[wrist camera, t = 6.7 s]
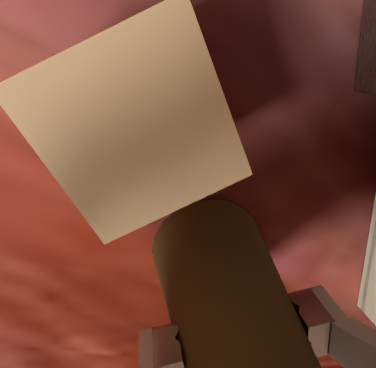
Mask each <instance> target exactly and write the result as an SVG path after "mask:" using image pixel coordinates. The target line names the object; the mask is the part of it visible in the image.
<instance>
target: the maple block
mask: <svg viewBox="0 0 376 368" xmlns="http://www.w3.org/2000/svg"><path fill="white" fill-rule="evenodd" d="M0 105H1V107H2V108H3V109H4V111H5V112H6V113H7V115H8V116H9V117H10V119H11V120H12V121H13V123H14V124H15V125H16V127H17V128H18V129H19V131H20V132H21V133H22V135H23V136H24V137H25V139H26V140H27V141H28V143H29V144H30V145H31V147H32V148H33V149H34V151H35V152H36V153H37V155H38V156H39V157H40V159H41V160H42V162H43V163H44V164H45V166H46V167H47V168H48V170H49V171H50V172H51V174H52V175H53V176H54V178H55V179H56V180H57V182H58V183H59V184H60V186H61V187H62V188H63V190H64V191H65V192H66V194H67V195H68V196H69V198H70V199H71V200H72V202H73V203H74V204H75V206H76V207H77V208H78V210H79V211H80V212H81V214H82V215H83V217H84V218H85V219H86V221H87V222H88V223H89V225H90V226H91V227H92V229H93V230H94V231H95V233H96V234H97V235H98V237H99V238H100V239H101V241H102V242H103V243H104V245H105V244H107V243H109V242H111V241H113V240H115V239H117V238H119V237H122V236H124V235H126V234H128V233H130V232H132V231H134V230H136V229H138V228H141V227H143V226H145V225H147V224H149V223H151V222H153V221H155V220H158V219H160V218H162V217H164V216H166V215H168V214H170V213H172V212H174V211H177V210H179V209H181V208H183V207H185V206H187V205H189V204H191V203H194V202H196V201H198V200H200V199H202V198H204V197H206V196H208V195H210V194H213V193H215V192H217V191H219V190H221V189H223V188H225V187H227V186H230V185H232V184H234V183H236V182H238V181H240V180H242V179H244V178H246V177H249V176H251V175H253V174H252V171H251V168H250V166H249V163H248V160H247V157H246V154H245V152H244V149H243V146H242V143H241V141H240V138H239V135H238V132H237V129H236V127H235V124H234V121H233V118H232V116H231V113H230V110H229V107H228V104H227V102H226V99H225V96H224V93H223V91H222V88H221V85H220V82H219V79H218V77H217V74H216V71H215V68H214V65H213V63H212V60H211V57H210V54H209V52H208V49H207V46H206V43H205V40H204V38H203V35H202V32H201V29H200V27H199V24H198V21H197V18H196V15H195V13H194V10H193V7H192V4H191V2H190V0H164V1H162V2H160V3H158V4H156V5H154V6H152V7H150V8H148V9H146V10H144V11H142V12H140V13H138V14H136V15H134V16H132V17H130V18H128V19H126V20H124V21H122V22H120V23H118V24H116V25H114V26H112V27H110V28H108V29H106V30H104V31H102V32H100V33H98V34H96V35H94V36H92V37H90V38H88V39H86V40H84V41H82V42H80V43H78V44H76V45H74V46H72V47H70V48H68V49H66V50H64V51H62V52H60V53H58V54H56V55H54V56H52V57H50V58H48V59H46V60H44V61H42V62H40V63H38V64H36V65H34V66H32V67H30V68H28V69H26V70H24V71H22V72H20V73H18V74H16V75H14V76H12V77H10V78H8V79H6V80H4V81H2V82H0Z"/></svg>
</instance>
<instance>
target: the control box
mask: <svg viewBox="0 0 376 368" xmlns="http://www.w3.org/2000/svg"><path fill="white" fill-rule="evenodd" d="M354 91H357V92H364V93H371V94H376V0H364V5H363V15H362V24H361V34H360V43H359V53H358V62H357V71H356V81H355V90H354Z"/></svg>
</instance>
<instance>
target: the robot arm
mask: <svg viewBox="0 0 376 368" xmlns="http://www.w3.org/2000/svg"><path fill="white" fill-rule="evenodd" d="M288 295H289V298H290V300H291V302H292V304H293V306H294V309H295V311H296V313H297V315H298V317H299V320H300V322H301V324H302V326H303V328H304V331H305V333H306V335H307V337H308V340H309V342H310V344H311V346H312V348H313V351H314V353H315V355H316V357H320V356H324V355H328V356H329V357H330V358H332V359H333V360H334V361H336V362H337V363H338V364H340V365H341V366H342V367H344V368H376V329H374V328H372V327H370V326H368V325H366V324H364V323H362V322H360V321H359V320H357V319H355V318H353V317H351V318H348V317H347V315H346V314H345V313H344V312H343V311H342V309H341V308H340V307H339V306H338V304H337V303H336V302H335V301H334V300H333V298H332V297H331V296H330V295H329V294H328V292H327V291H326V290H325V289H324V287H322V286H321V285H319V286H315V287H311V288H306V289H302V290H299V291H295V292H291V293H288ZM139 368H185V365H184V360H183V354H182V348H181V344H180V342H179V331H178V325H177V323H176V322H174V323H170V324H165V325H161V326H156V327H152V328H148V329H144V330H140V332H139Z"/></svg>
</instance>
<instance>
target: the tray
mask: <svg viewBox="0 0 376 368" xmlns="http://www.w3.org/2000/svg"><path fill="white" fill-rule="evenodd" d="M357 305H358V306H359V308H360V309H361V310H362V311H363V312H364V313H365V314H366V315H367V316H368V318H369V319H370V320H371V321H372V322H373V323H374V324H375V325H376V193H375V200H374V206H373V212H372V218H371V224H370V230H369V237H368V243H367V249H366V255H365V261H364V267H363V274H362V280H361V286H360V292H359V298H358V304H357Z"/></svg>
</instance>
